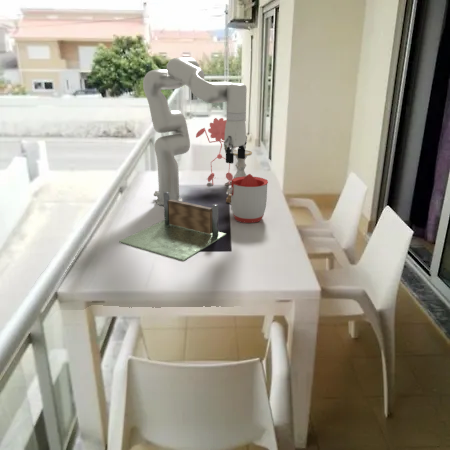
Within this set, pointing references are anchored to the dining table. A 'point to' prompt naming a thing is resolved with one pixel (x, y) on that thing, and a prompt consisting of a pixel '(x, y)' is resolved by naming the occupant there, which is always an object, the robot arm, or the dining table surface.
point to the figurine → (218, 133)
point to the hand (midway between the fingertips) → (235, 160)
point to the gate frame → (174, 236)
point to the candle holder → (239, 168)
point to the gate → (190, 216)
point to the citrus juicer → (248, 198)
